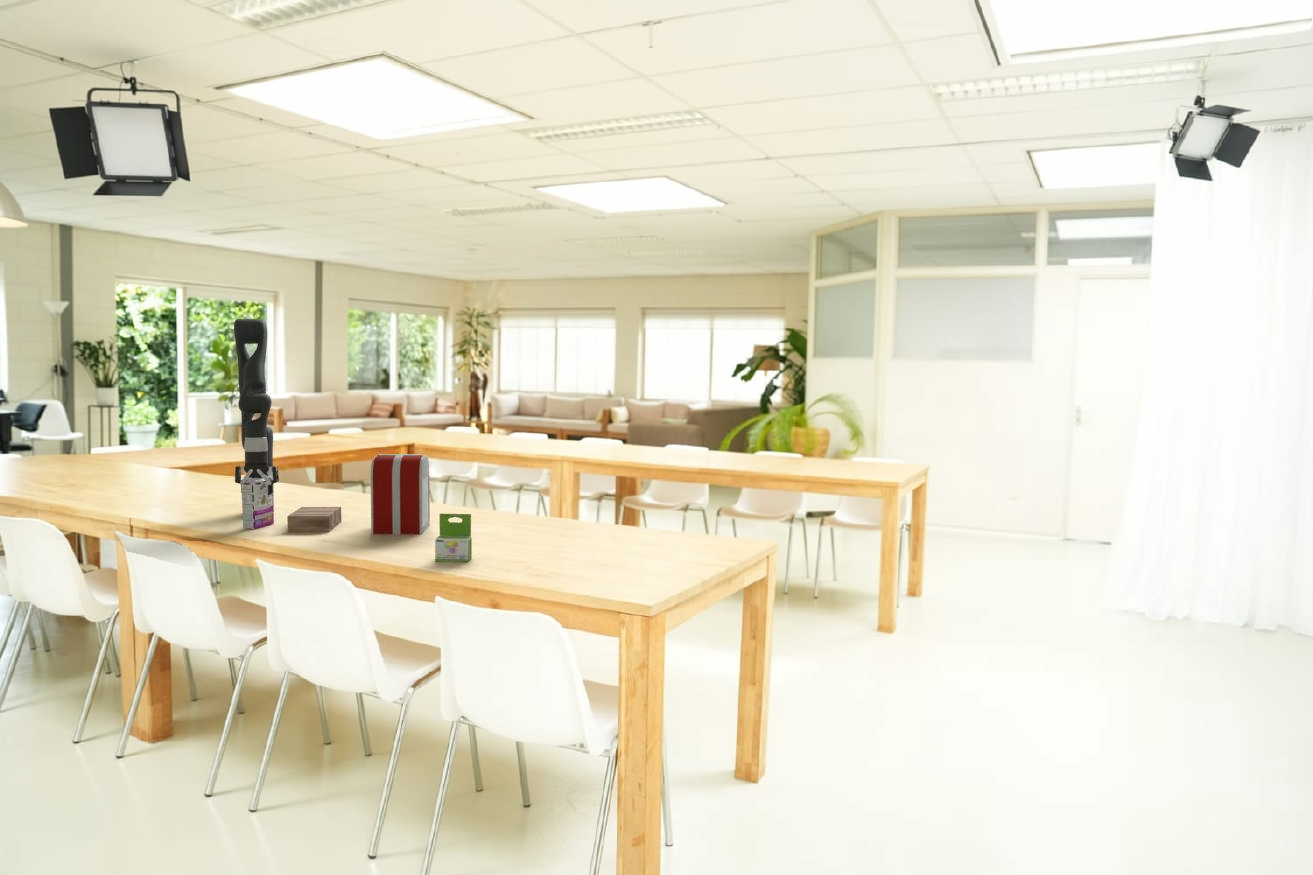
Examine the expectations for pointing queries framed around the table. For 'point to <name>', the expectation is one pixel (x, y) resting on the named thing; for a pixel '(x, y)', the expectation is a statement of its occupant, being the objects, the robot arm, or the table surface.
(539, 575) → the table surface
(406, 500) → the red grey rounded block
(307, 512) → the walnut block
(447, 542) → the ink box
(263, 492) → the candy bar box
